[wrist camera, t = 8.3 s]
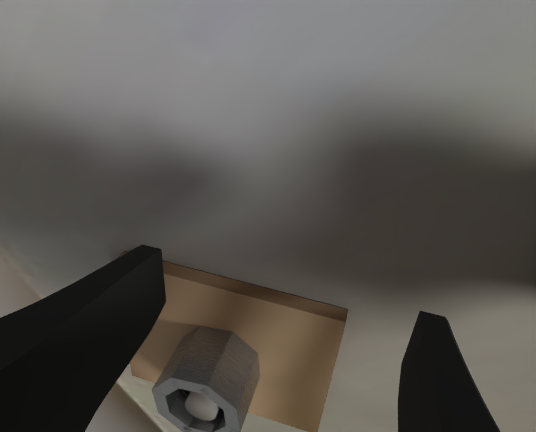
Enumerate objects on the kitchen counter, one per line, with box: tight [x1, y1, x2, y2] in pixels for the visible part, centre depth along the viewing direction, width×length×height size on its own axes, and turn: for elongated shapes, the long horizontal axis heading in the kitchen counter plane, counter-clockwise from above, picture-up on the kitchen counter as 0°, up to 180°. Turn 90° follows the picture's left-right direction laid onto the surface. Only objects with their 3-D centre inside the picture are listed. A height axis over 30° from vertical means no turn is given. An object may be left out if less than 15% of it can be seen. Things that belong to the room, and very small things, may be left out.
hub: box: [152, 325, 260, 432], centre depth 27 cm, size 5×5×4 cm
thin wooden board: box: [118, 251, 348, 432], centre depth 27 cm, size 14×11×4 cm
